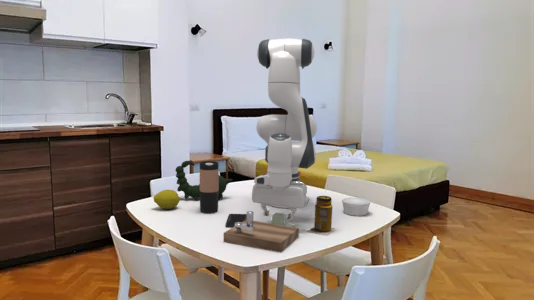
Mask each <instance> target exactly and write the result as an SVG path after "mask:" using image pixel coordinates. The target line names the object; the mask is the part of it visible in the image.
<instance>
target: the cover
mask: <svg viewBox="0 0 534 300" xmlns="http://www.w3.org/2000/svg"><path fill="white" fill-rule="evenodd" d="M285 216H286V214H285V213H281V212H275V213H273V214H271V220H270V221H268V222H267V223H270V224H277V225H283V226H290V227H295V223H293V222H286V220H285V218H286V217H285Z"/></svg>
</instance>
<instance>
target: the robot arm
mask: <svg viewBox="0 0 534 300" xmlns="http://www.w3.org/2000/svg"><path fill="white" fill-rule="evenodd" d="M314 48H315V47H314V45H313V42H312V41H311V40H310V39H306V38H302V39H301V38H294V37H293V38H292V37H291V38H290V37H289V38H288V37H286V38H274V39H269V38H268V39H263V40H261V41H260V42H259V44H258V47H257V49H256V50H257V51H256V57H257V60H258V63H259V64H260V65H261V66H262V67H264V68H266V69H267V70H268V78H267V91H268V92H267V93H268V98H269V100H270V101H271V103H272V104H274V105H275V106H276V107H278V108H281V109H282V110H285V111H286V112H287V114H267V115H262V116H260V117H259V119H258V120H257V122H256V128H255V129H256V132H257V134H258V136H259V137H260V138H261V139H262V140H263V141H264V142H265V143H266V146H265V148H264V150H265V153H264V155H265V158H264V160H265V162H266V163H267V164H268V165H267V169H266V170H267V171H266V173H265V174H261V175H258V176H257V177H255V178H254V180H253V181H254V185H253V186H252V190H251V191H252V192H251V200H252V202H253V203H256V204H260V207H261V209H262V211H263V216H266V217H268V216H270V209H269V210H268V207H267V205H269V206H271V207H274V208H282V209H283V208H284V209H286V208H287V209H290V211H291V213H289V214H287V219H288V220H290V221H291V220H294V214H295V213H296V212H297V210H298V209H299V210H300V209H301V210H302V209H304V208H305V207H307V204H308V201H309V200H310V197H309V196H307V194H308V193H307V192H308V187H307V185H306V184H305V183H304V182H303V181H300V180H301V179H300V177H301V175H302V174H301V173H302V172H301V171H299V169H309V168H311V167H312V166H313V165H314V164H315V162H316V159H317V153H316V152H317V151H316V148H315V145H314V141H313V138H314V137H315V136H316V135H317V131H318V126H317V122H316V120H315V119H314V118H313V117H312V116H311V115H310V113H309V109H308V103H307V100H306V98H304V97H303V96H301V95H302V94H301V72H300V71H301V70H303V69H305V68H306V67H309V66H310V65H311V64H312V63H313V60H314V58H315V49H314ZM300 67H301V70H300Z"/></svg>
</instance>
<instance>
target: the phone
mask: <svg viewBox="0 0 534 300" xmlns="http://www.w3.org/2000/svg"><path fill="white" fill-rule="evenodd" d="M245 220H247V213H229V214H228V216H227V219H226V221H225V228H227V229H228V228H229V229H231V228H233V227H234V226H235V223H236V222H243V221H245Z"/></svg>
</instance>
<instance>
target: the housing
mask: <svg viewBox="0 0 534 300" xmlns="http://www.w3.org/2000/svg"><path fill="white" fill-rule="evenodd" d="M242 223H243V224H247V220H245V221H243V222H242ZM253 226H255V230H254V231H249V230H245V229H241V228H235V226H234V227H233V228H229V229H227V230H226V231H224V232H223V242H224V243H227V244H234V245H238V246H239V245H240V246H245V247H249V248H255V249H259V250H261V249H262V250H265V251H266V250H267V251H271V252H276V253H282V252H283V251H285V249H286V248H287V247H289V246H290V245H291V244H292V243H293V242H294V241H296V239H298V238H299V236H300V235H299V234H300V232H299V231H300V229H299V228H300V227H295V226H293V227H290V226H283V225H277V224H270V223H268V222H263V221H256V220H253Z"/></svg>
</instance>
